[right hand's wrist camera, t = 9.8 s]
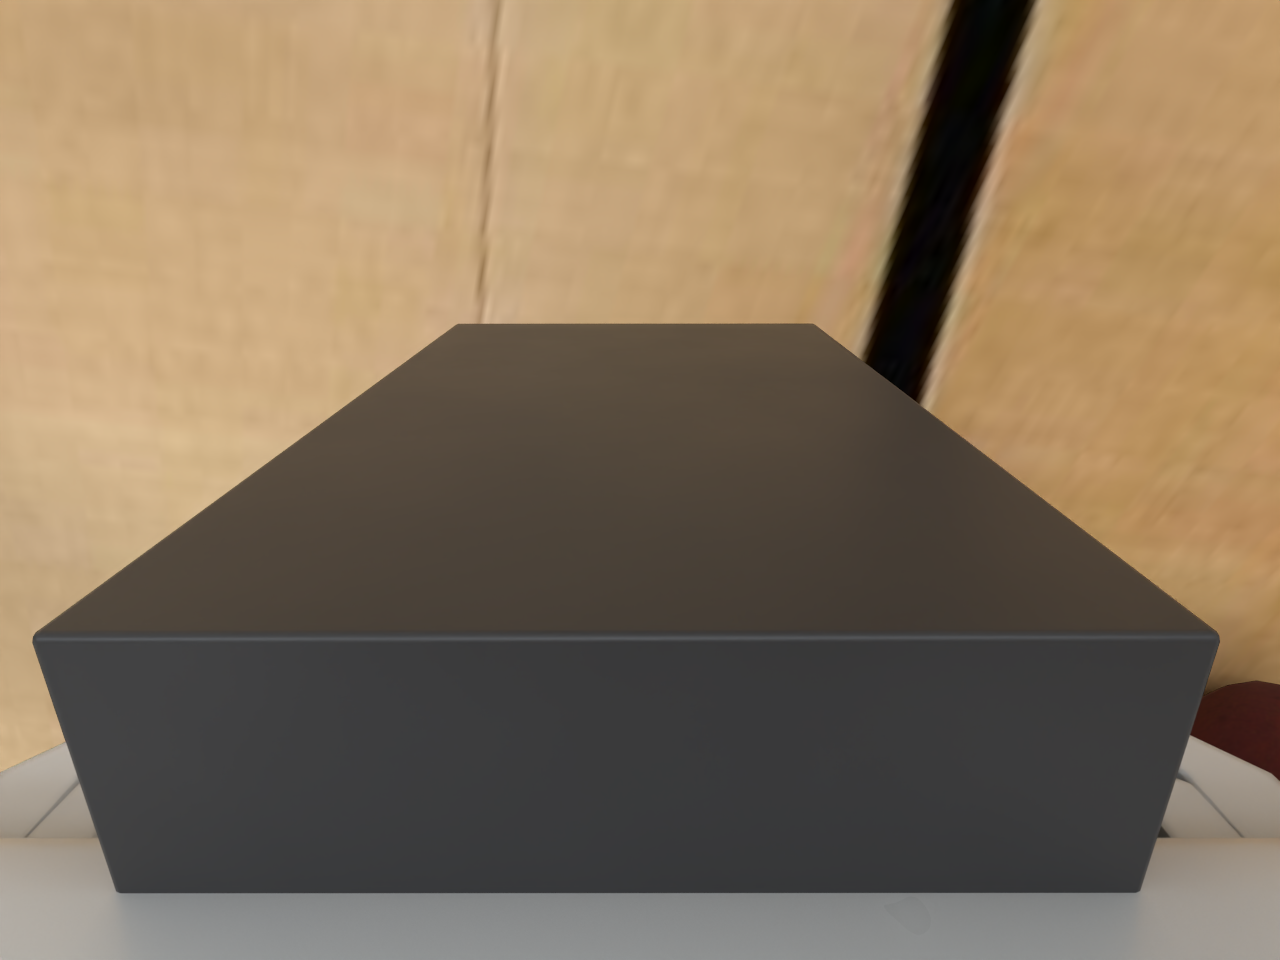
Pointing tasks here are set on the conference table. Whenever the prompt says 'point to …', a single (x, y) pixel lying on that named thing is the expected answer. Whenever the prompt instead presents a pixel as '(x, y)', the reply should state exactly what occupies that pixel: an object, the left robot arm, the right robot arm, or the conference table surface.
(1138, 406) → the conference table surface
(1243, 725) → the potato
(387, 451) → the box
